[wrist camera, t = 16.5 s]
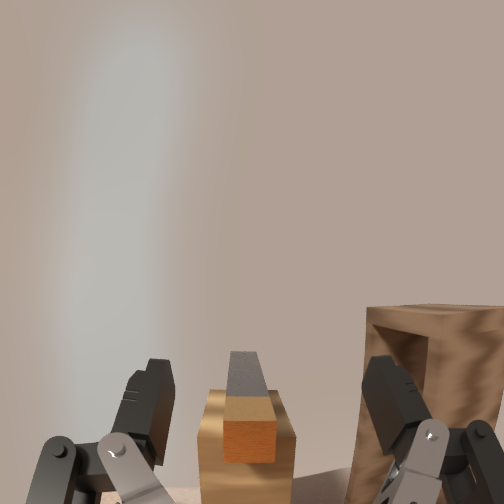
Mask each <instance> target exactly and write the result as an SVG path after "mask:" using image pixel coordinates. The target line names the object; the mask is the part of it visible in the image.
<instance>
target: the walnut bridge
mask: <svg viewBox="0 0 504 504" xmlns="http://www.w3.org/2000/svg"><path fill="white" fill-rule="evenodd" d="M380 355H390V356H391V357H392V359H393V361H394V363H395V364H396V366H398V365H401V366H402V367H403V368H404V369H405V370H407V371H408V372H409V373H410V375H411V377H412V379H413V381H414V384H415V385H416V387H417V388H418V391H419V392H420V394H421V396H422V398H423V400H424V402H425V404H426V406H427V408H428V410H429V412H430V414H431V416H432V418H433V419H437V420H440V421H442V422H443V423H444V424H445V425H446V426H447V427H448V428H466V427H467V426H468V425H469V423H470V422H472V421H474V420H483V421H486V422H487V423H488V424H490V426H491V427H492V429H493V431H494V430H495V426H496V422H497V418H498V414H499V409H500V405H501V400H502V395H503V390H504V306H474V305H445V304H420V305H403V306H385V307H384V306H383V307H367V317H366V340H365V358H364V372H363V378H364V375H365V372H366V369H367V367H368V364H369V361H370V358H371V357H372V356H380ZM394 459H395V458H394V455H393V454H391V455H387V456H384V455H383V452H382V449H381V446H380V443H379V440H378V437H377V434H376V431H375V428H374V426H373V423H372V420H371V417H370V414H369V411H368V409H367V406H366V403H365V400H364V398H363V395H362V394H361V404H360V413H359V421H358V429H357V436H356V444H355V450H354V456H353V462H352V468H351V473H350V479H349V484H348V489H347V494H346V498H345V504H372V502H373V501H374V500H375V498H376V496H377V495H378V493H379V491H380V489H381V487H382V485H383V482H384V480H385V478H386V476H387V474H388V472H389V469H390V467H391V465H392V463H393V461H394ZM469 466H470V465H469ZM470 469H471V467H470ZM471 471H472V469H471ZM472 474H473V472H472ZM473 476H474V474H473ZM474 479H475V477H474ZM475 482H476V480H475ZM436 504H447V502H446V499H445V495H444V492H443V489H442V486H441V489H440V492H439V495H438V498H437V501H436Z"/></svg>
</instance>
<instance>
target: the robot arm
mask: <svg viewBox="0 0 504 504" xmlns="http://www.w3.org/2000/svg"><path fill="white" fill-rule="evenodd" d="M362 395H363V398H364V400H365V403H366V406H367V409H368V411H369V414H370V417H371V420H372V423H373V426H374V428H375V431H376V434H377V437H378V440H379V443H380V446H381V449H382V452H383V455H384V456H387V455H391V454H393V455H394V458H395V459H394V461H393V463H392V465H391V467H390V469H389V472H388V474H387V476H386V478H385V480H384V482H383V485H382V487H381V489H380V491H379V493H378V495H377V496H376V498H375V500H374V501H373V502H372V504H436V501H437V498H438V495H439V492H440V489H441V486H442V489H443V492H444V495H445V499H446V502H447V504H504V452H503V450H502V447H501V446H500V443H499V441H498V439H497V437H496V435H495V433H494V431H493V429H492V427H491V426H490V424H488V423H487V422H486V421H483V420H474V421H472V422H470V423H469V425H468V426H467V427H466V428H448V427H447V426H446V425H445V424H444V423H443V422H442V421H440V420H437V419H433V418H432V416H431V414H430V412H429V410H428V408H427V406H426V404H425V402H424V400H423V398H422V396H421V394H420V392H419V391H418V388H417V387H416V385H415V384H414V381H413V379H412V377H411V375H410V373H409V372H408V371H407V370H405V369H404V368H403V367H402V366H401V365H398V366H396V364H395V363H394V361H393V359H392V357H391V356H390V355H380V356H372V357H371V358H370V361H369V364H368V367H367V369H366V372H365V375H364V378H363V381H362ZM174 400H175V384H174V379H173V375H172V370H171V365H170V361H169V360H165V359H149V362H148V365H147V368H146V371H141V370H137V371H136V372H135V373H134V374H133V376H131V378H130V379H129V381H128V383H127V386H126V391H125V392H124V395H123V400H122V401H121V404H120V407H119V410H118V413H117V416H116V419H115V422H114V425H113V428H112V431H111V433H110V434H108V435H106V436H104V437H103V438H102V439H101V440H100V441H99V442H96V443H87V444H74V443H73V442H72V441H71V440H70V439H69V438H67V437H64V436H55V437H52V438H50V439H49V440H47V442H46V443H45V444H44V446H43V449H42V452H41V455H40V458H39V460H38V464H37V467H36V470H35V473H34V476H33V479H32V483H31V486H30V490H29V493H28V497H27V500H26V504H100V501H101V495H102V492H111V491H117V492H118V494H119V496H120V498H121V500H122V504H176V503H175V502H174V501H173V499H172V498H171V497H170V495H169V494H168V492H167V491H166V490H165V488H164V487H163V486H162V485H161V483H160V482H159V481H158V479H157V477H156V476H155V475H154V473H153V471H154V465H160V466H163V461H164V455H165V450H166V444H167V438H168V433H169V427H170V422H171V416H172V411H173V406H174ZM469 465H470V466H469ZM470 467H471V469H472V471H471V469H470ZM472 472H473V474H474V476H473V474H472ZM474 477H475V479H474ZM475 480H476V482H475Z"/></svg>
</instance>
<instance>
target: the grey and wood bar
mask: <svg viewBox="0 0 504 504" xmlns="http://www.w3.org/2000/svg"><path fill="white" fill-rule="evenodd" d="M276 429H277V419H276V416H275V413H274V410H273V406H272V403H271V400H270V397H269V393H268V390H267V387H266V383H265V380H264V377H263V373H262V370H261V367H260V363H259V360H258V357H257V353H256V352H235V351H233V352H232V351H231V355H230V363H229V372H228V380H227V389H226V398H225V407H224V416H223V453H224V463H274V462H275V449H276Z"/></svg>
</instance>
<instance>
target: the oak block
mask: <svg viewBox="0 0 504 504" xmlns="http://www.w3.org/2000/svg"><path fill="white" fill-rule="evenodd" d="M268 393H269V397H270V400H271V403H272V406H273V410H274V413H275V416H276V419H277V429H276V449H275V462H274V463H224V453H223V416H224V407H225V398H226V390H210V392H209V395H208V399H207V403H206V406H205V410H204V414H203V417H202V421H201V425H200V428H199V432H198V436H197V443H198V461H199V477H200V491H201V503H202V504H290V502H291V492H292V482H293V471H294V460H295V447H296V435H295V432H294V430H293V428H292V425H291V423H290V420H289V418H288V416H287V413H286V411H285V408H284V406H283V404H282V401H281V398H280V396H279V394H278V391H277V390H268Z"/></svg>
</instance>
